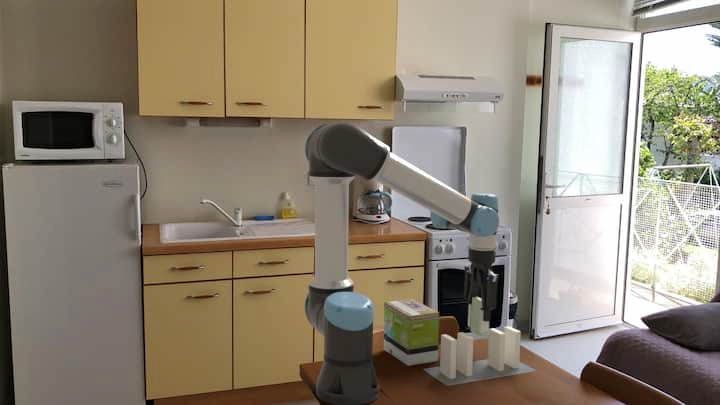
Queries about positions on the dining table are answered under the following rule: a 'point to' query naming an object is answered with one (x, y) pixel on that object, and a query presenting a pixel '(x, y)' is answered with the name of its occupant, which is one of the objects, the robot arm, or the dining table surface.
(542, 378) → the dining table surface
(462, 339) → the domino
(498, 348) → the domino
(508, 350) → the domino
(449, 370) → the domino
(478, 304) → the sage domino
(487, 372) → the slate mat
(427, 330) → the tea box
